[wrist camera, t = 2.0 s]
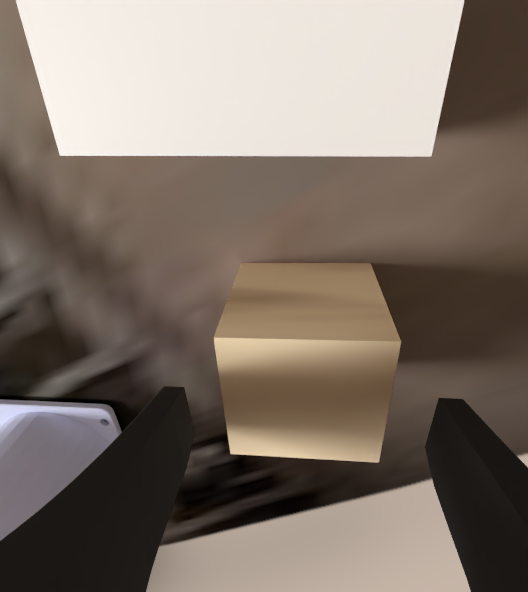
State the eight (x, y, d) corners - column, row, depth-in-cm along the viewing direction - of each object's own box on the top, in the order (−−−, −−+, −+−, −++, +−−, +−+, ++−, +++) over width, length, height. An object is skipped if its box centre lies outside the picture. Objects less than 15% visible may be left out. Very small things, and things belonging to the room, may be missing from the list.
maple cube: (358, 362, 16) (378, 462, 12) (249, 359, 16) (230, 454, 12) (370, 262, 13) (401, 341, 9) (241, 262, 14) (213, 337, 10)
